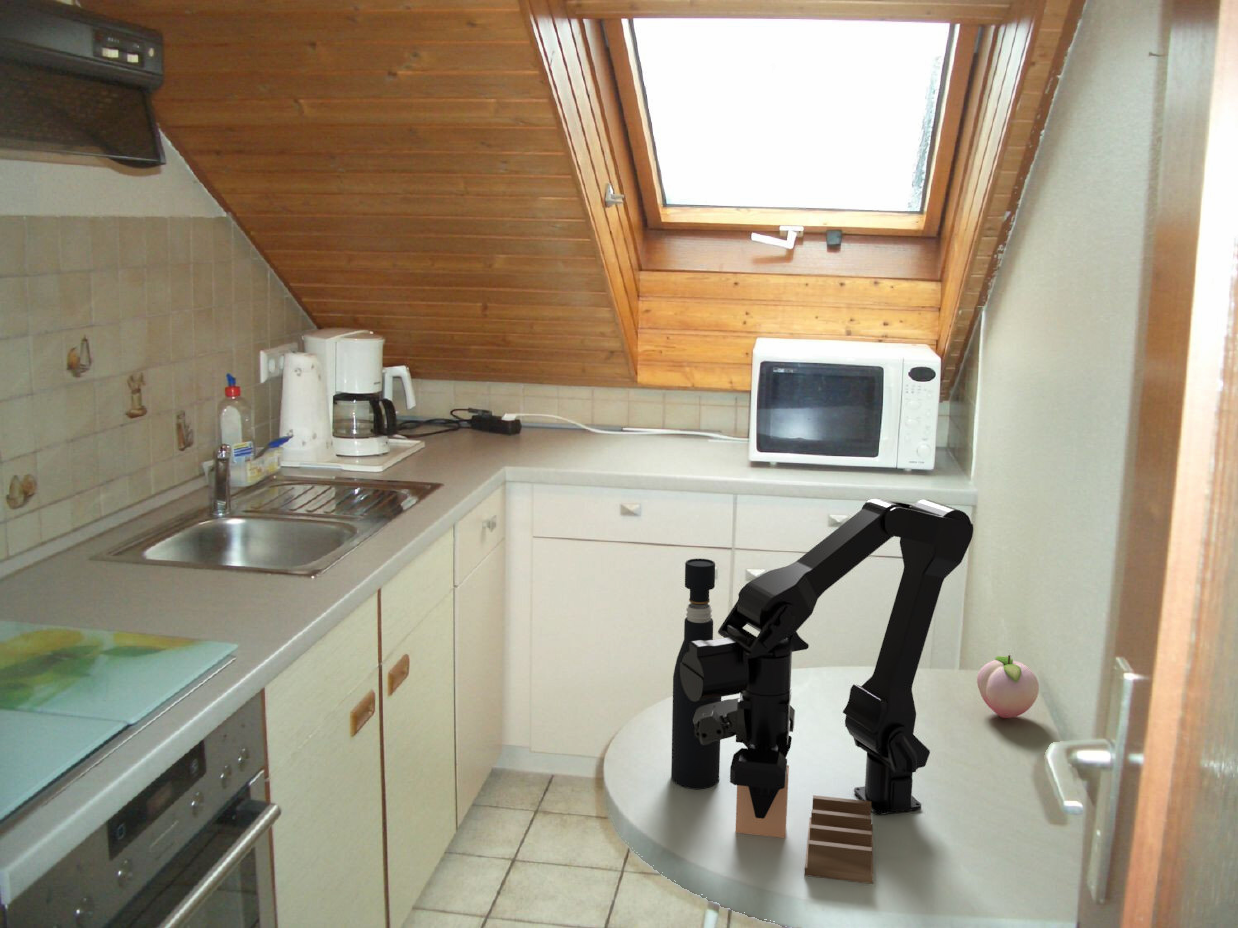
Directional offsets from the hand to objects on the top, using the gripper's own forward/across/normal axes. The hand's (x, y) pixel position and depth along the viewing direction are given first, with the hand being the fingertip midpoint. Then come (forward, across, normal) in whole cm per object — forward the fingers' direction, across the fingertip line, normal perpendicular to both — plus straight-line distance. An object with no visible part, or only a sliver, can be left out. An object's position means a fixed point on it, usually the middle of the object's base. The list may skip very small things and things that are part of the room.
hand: (761, 807), depth 138 cm
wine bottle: (+3, -12, -10) cm, 16 cm away
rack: (+3, +3, +10) cm, 10 cm away
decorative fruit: (+3, -42, +33) cm, 53 cm away
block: (+3, 0, 0) cm, 3 cm away
